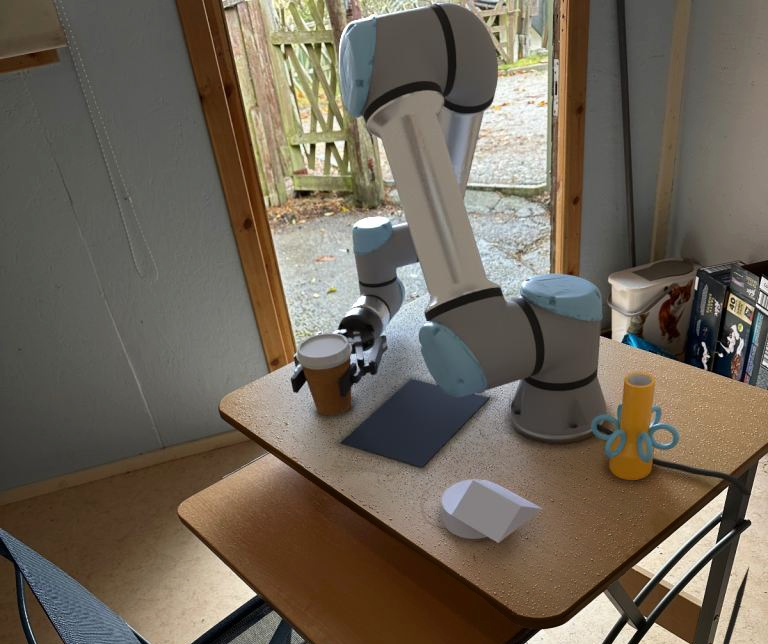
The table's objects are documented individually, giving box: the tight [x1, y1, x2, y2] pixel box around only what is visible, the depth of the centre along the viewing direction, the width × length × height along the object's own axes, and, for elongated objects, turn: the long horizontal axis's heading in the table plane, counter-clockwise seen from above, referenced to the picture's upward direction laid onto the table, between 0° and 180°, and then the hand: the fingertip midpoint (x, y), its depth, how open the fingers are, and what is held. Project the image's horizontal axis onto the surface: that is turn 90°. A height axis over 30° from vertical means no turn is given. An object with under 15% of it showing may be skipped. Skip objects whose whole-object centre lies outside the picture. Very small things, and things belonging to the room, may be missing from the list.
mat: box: [339, 378, 490, 469], centre depth 130 cm, size 16×22×1 cm
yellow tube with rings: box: [591, 371, 680, 481], centre depth 109 cm, size 12×10×15 cm
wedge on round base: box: [441, 478, 544, 544], centre depth 106 cm, size 9×7×13 cm
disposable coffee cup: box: [295, 332, 352, 416], centre depth 133 cm, size 10×10×12 cm
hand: (317, 387), depth 130 cm, fingers closed on disposable coffee cup, 8 cm apart
